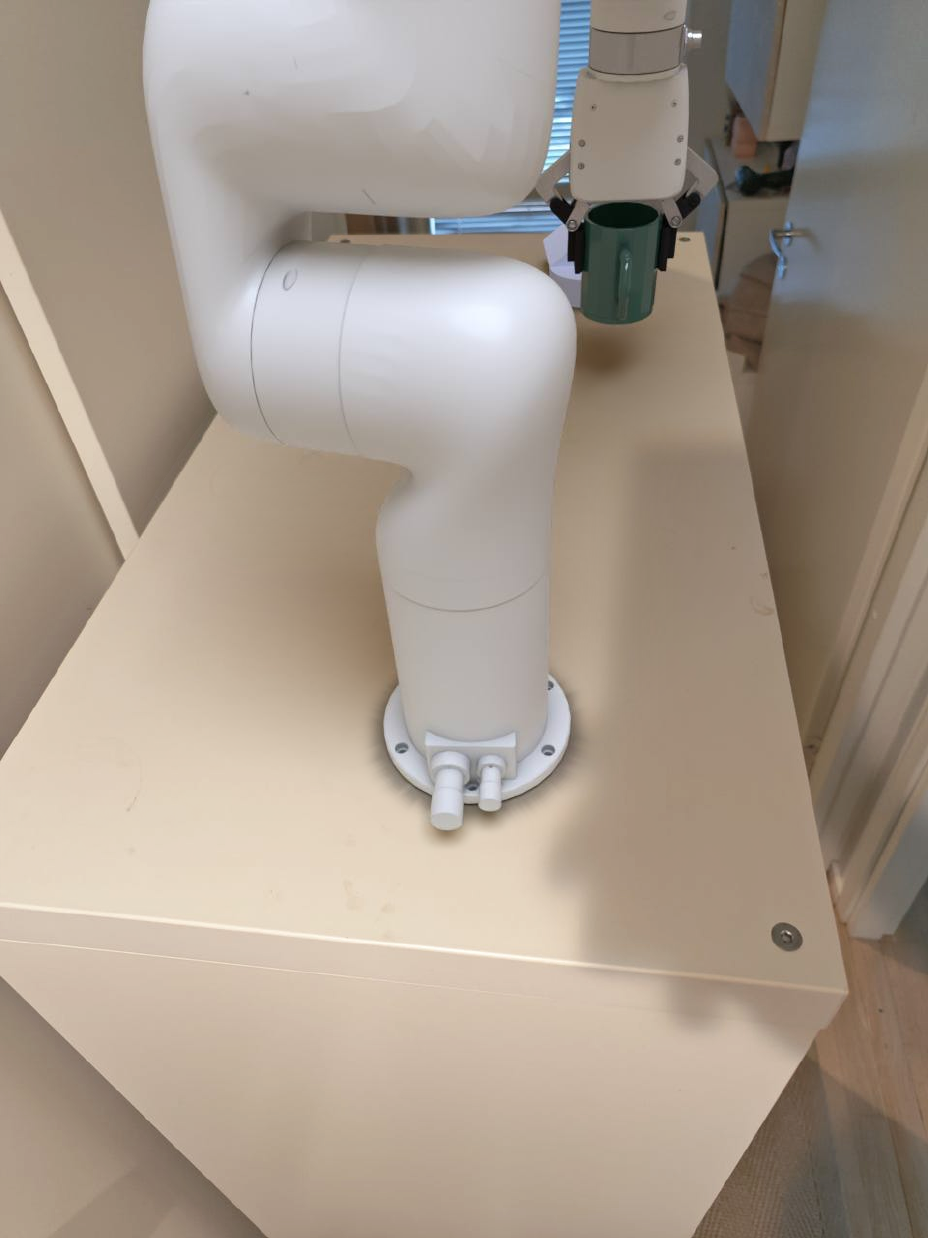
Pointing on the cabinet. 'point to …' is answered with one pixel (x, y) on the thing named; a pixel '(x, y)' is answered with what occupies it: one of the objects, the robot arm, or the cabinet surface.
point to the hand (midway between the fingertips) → (619, 265)
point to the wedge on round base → (562, 265)
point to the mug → (620, 261)
